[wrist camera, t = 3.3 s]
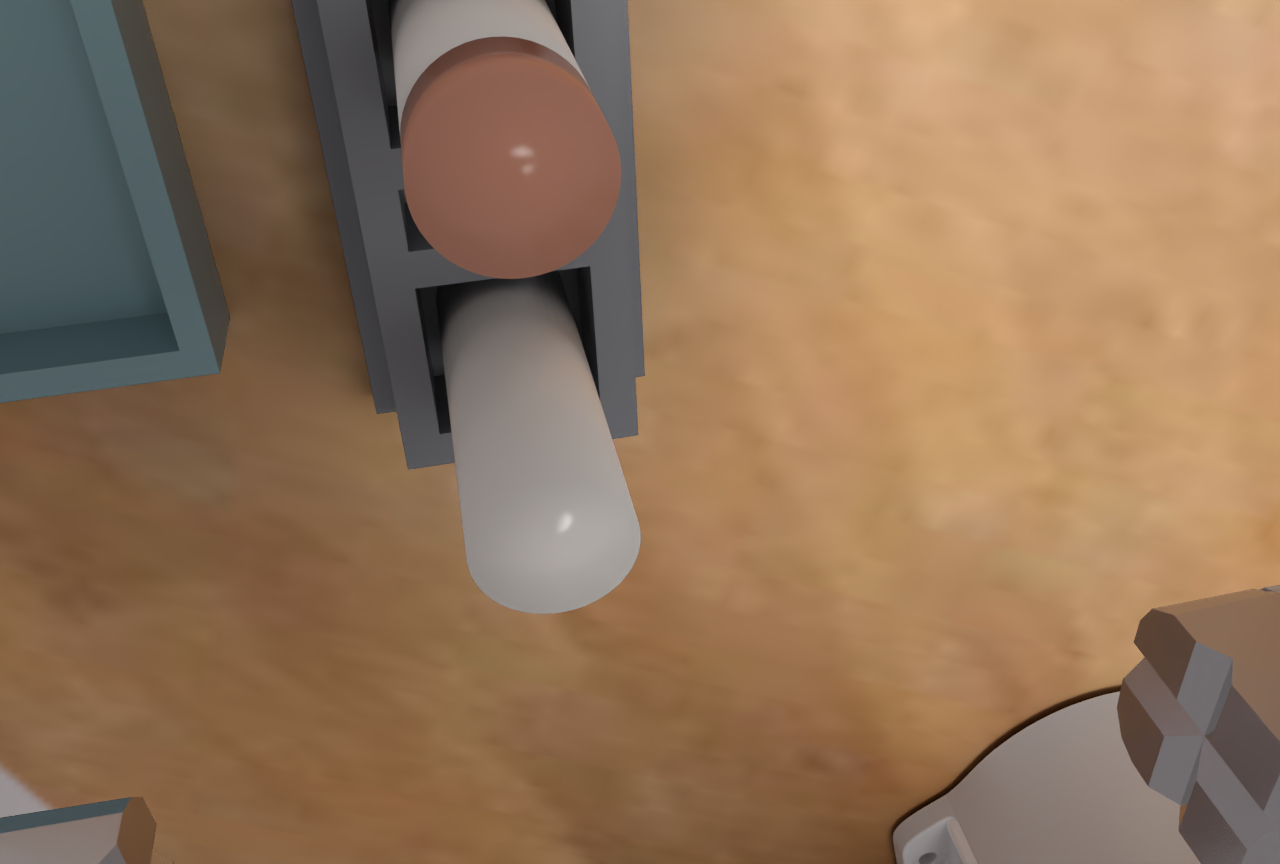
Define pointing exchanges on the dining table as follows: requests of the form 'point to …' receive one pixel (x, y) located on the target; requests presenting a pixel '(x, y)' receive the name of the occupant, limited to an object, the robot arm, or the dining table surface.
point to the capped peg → (499, 136)
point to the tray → (96, 209)
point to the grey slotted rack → (410, 267)
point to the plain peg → (532, 448)
